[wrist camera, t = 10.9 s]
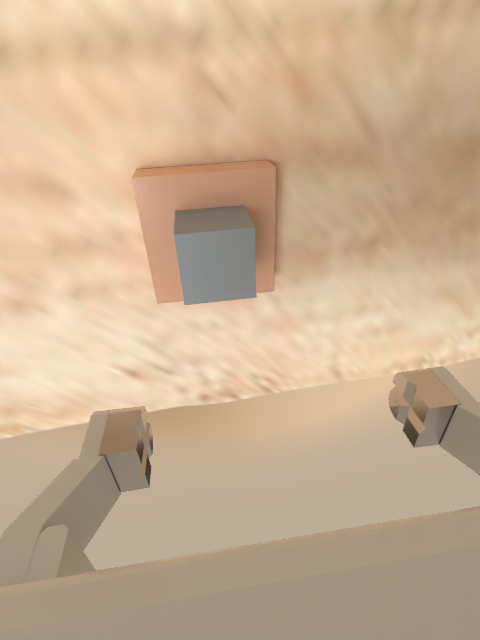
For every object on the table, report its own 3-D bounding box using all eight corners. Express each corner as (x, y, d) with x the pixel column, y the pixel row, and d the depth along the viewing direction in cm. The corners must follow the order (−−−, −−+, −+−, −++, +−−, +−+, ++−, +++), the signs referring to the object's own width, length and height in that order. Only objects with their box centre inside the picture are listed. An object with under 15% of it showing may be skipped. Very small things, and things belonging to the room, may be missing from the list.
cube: (243, 205, 26) (255, 227, 22) (245, 266, 28) (256, 297, 24) (174, 210, 25) (173, 234, 21) (184, 273, 28) (184, 305, 24)
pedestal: (267, 159, 27) (276, 166, 25) (267, 275, 33) (274, 291, 30) (136, 169, 26) (131, 177, 24) (159, 286, 32) (157, 303, 29)
